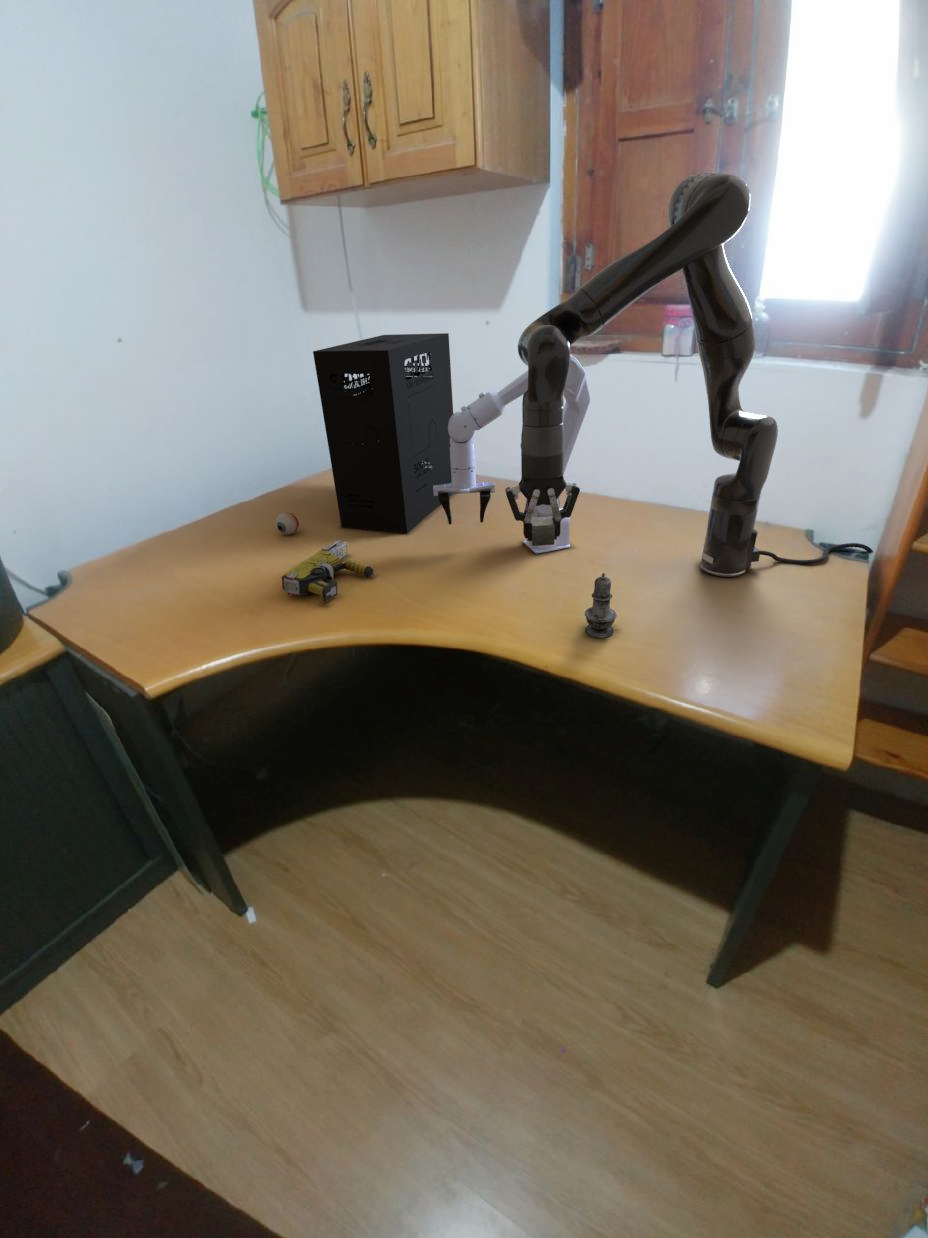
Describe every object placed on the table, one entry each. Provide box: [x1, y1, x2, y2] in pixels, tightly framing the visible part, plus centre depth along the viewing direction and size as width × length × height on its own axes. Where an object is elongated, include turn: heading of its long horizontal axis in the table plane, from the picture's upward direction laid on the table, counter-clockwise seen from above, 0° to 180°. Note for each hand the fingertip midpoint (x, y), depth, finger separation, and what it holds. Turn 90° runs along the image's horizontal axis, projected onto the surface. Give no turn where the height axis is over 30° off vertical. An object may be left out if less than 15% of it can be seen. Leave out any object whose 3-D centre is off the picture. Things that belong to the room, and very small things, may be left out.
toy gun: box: [281, 539, 374, 603], centre depth 138 cm, size 5×24×15 cm
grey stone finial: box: [583, 572, 618, 639], centre depth 111 cm, size 6×6×12 cm
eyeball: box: [275, 511, 300, 536], centre depth 163 cm, size 6×6×6 cm
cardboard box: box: [312, 332, 454, 534], centre depth 168 cm, size 38×20×45 cm, turn 159°
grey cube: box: [531, 516, 555, 546], centre depth 114 cm, size 4×4×4 cm
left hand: (465, 521), depth 147 cm, fingers open, 7 cm apart
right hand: (541, 538), depth 115 cm, fingers closed on grey cube, 4 cm apart
